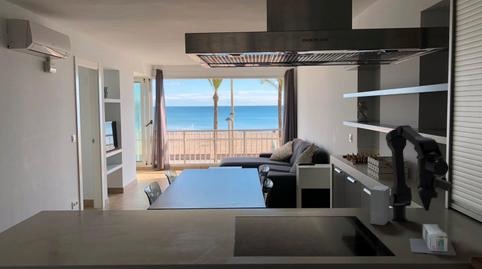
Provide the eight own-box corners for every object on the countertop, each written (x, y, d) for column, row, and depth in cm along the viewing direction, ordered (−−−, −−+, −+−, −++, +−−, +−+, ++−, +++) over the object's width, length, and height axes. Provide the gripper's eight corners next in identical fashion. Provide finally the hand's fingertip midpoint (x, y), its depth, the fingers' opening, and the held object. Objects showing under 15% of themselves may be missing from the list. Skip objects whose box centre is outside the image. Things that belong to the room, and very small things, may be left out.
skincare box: (375, 219, 190) (374, 184, 189) (391, 221, 185) (390, 185, 185) (369, 224, 183) (368, 188, 182) (385, 226, 179) (384, 189, 178)
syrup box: (438, 238, 158) (448, 252, 144) (422, 238, 159) (430, 251, 145) (438, 224, 157) (448, 235, 143) (421, 223, 159) (430, 235, 145)
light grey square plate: (409, 239, 160) (409, 238, 160) (450, 241, 155) (450, 240, 155) (411, 252, 146) (411, 251, 146) (456, 255, 141) (456, 254, 141)
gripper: (452, 176, 152) (452, 218, 153) (446, 167, 169) (446, 205, 170) (419, 175, 155) (419, 216, 157) (416, 167, 173) (417, 204, 174)
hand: (426, 210), depth 164 cm, fingers closed
